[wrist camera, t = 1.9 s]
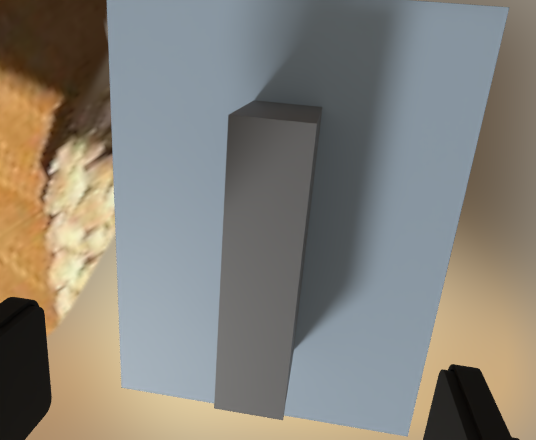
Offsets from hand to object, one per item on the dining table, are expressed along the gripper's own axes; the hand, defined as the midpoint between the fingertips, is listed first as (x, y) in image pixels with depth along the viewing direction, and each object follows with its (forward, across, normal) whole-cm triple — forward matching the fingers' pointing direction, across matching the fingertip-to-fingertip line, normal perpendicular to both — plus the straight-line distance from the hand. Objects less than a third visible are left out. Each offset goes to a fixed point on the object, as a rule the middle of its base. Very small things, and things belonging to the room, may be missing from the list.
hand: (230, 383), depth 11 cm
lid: (+9, 0, -1) cm, 9 cm away
